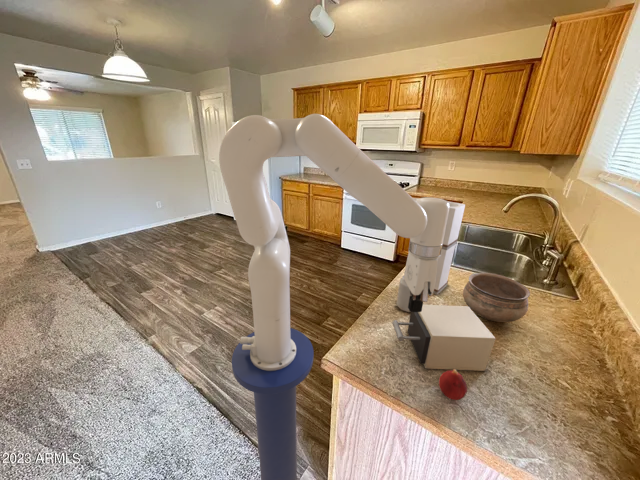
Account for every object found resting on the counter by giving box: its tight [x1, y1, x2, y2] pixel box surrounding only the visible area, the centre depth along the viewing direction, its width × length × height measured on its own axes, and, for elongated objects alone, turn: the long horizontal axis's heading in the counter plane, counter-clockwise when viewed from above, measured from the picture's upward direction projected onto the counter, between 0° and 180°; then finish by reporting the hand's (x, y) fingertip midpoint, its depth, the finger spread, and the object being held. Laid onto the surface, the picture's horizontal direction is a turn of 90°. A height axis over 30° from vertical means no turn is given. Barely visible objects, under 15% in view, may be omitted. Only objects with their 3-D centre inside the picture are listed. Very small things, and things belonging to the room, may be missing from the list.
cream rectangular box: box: [418, 303, 496, 372], centre depth 75 cm, size 16×14×11 cm
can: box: [396, 275, 412, 313], centre depth 94 cm, size 8×8×12 cm
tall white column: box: [433, 200, 466, 295], centre depth 106 cm, size 11×11×35 cm
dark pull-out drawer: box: [391, 312, 431, 365], centre depth 75 cm, size 21×13×9 cm, turn 88°
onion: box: [438, 369, 468, 401], centre depth 61 cm, size 6×6×8 cm
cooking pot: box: [462, 272, 531, 323], centre depth 91 cm, size 25×19×12 cm
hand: (414, 310), depth 72 cm, fingers closed
